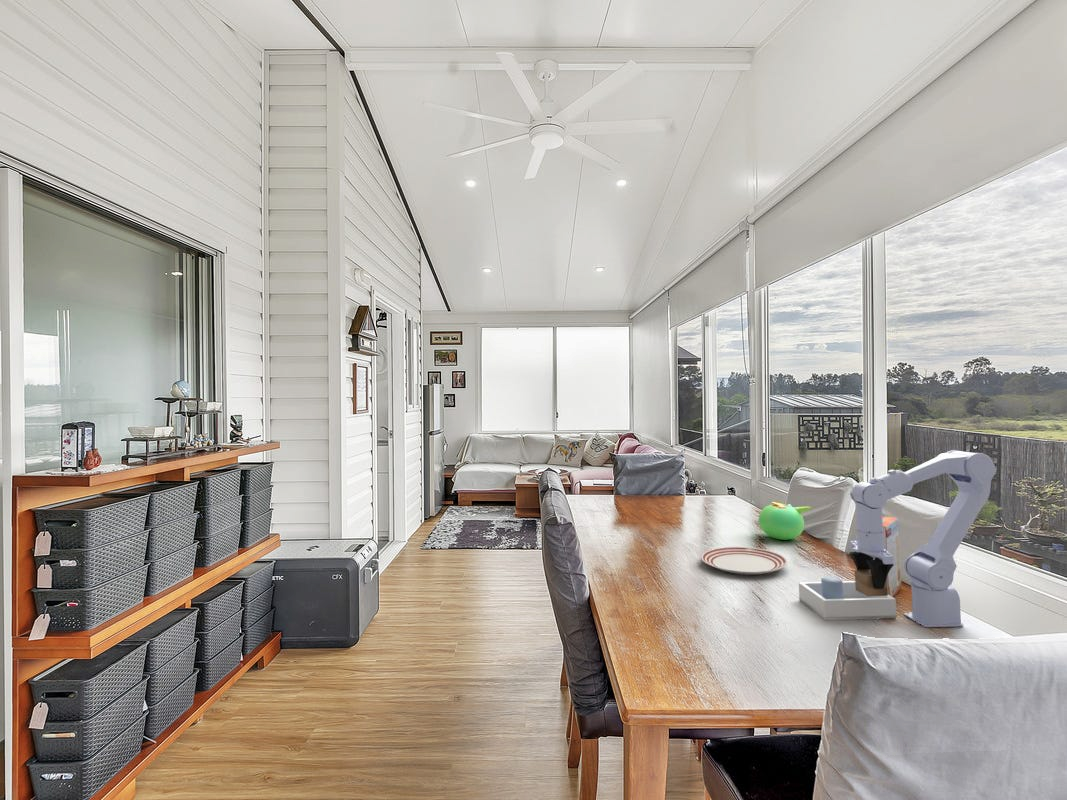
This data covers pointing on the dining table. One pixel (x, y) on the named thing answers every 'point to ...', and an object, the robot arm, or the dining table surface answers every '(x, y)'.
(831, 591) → the blue cylinder
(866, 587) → the walnut cube
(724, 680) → the dining table surface
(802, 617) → the dining table surface
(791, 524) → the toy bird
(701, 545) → the dining table surface
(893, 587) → the cracker box
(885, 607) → the tote
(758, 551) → the dinner plate
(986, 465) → the robot arm
